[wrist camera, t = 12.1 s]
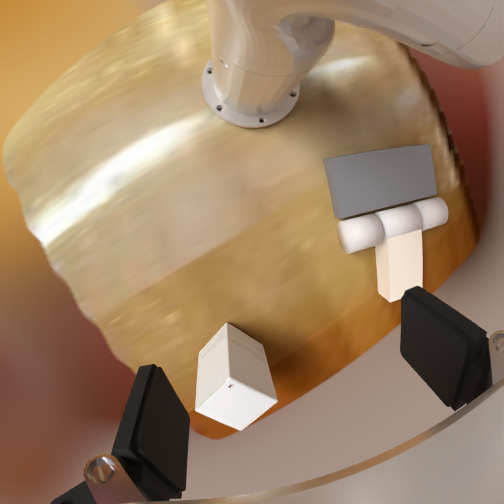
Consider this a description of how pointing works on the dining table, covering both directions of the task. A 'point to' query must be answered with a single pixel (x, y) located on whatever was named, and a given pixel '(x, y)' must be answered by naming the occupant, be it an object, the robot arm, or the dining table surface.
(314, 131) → the dining table surface
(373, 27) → the robot arm
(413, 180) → the fixed leaf
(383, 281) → the cream hinge flap
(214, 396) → the supplement box
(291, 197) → the dining table surface
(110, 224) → the dining table surface
